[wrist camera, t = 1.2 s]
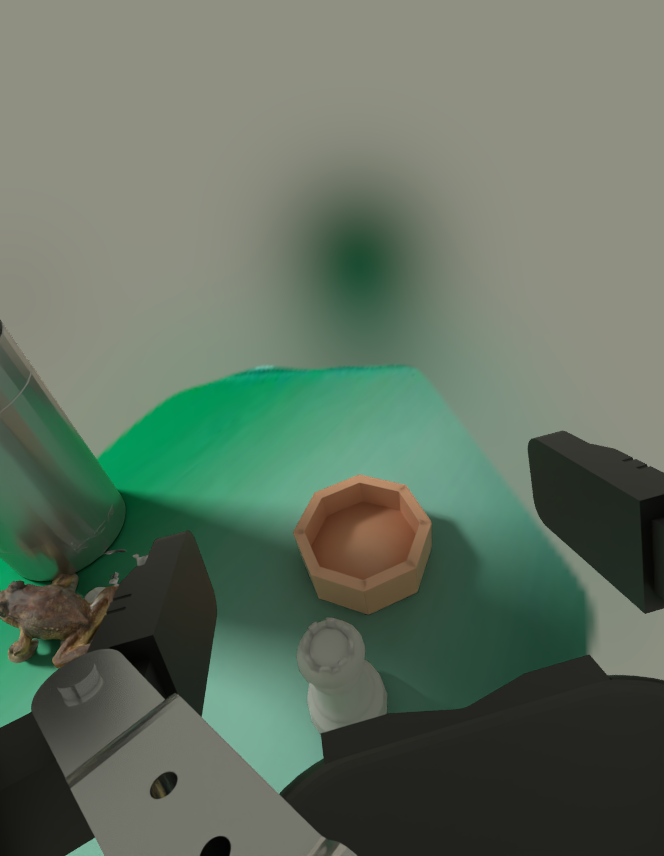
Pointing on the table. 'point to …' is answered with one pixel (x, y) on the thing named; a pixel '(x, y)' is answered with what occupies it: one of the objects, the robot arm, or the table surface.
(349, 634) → the rook chess piece
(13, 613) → the frog figurine
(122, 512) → the robot arm
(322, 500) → the dish
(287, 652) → the table surface
